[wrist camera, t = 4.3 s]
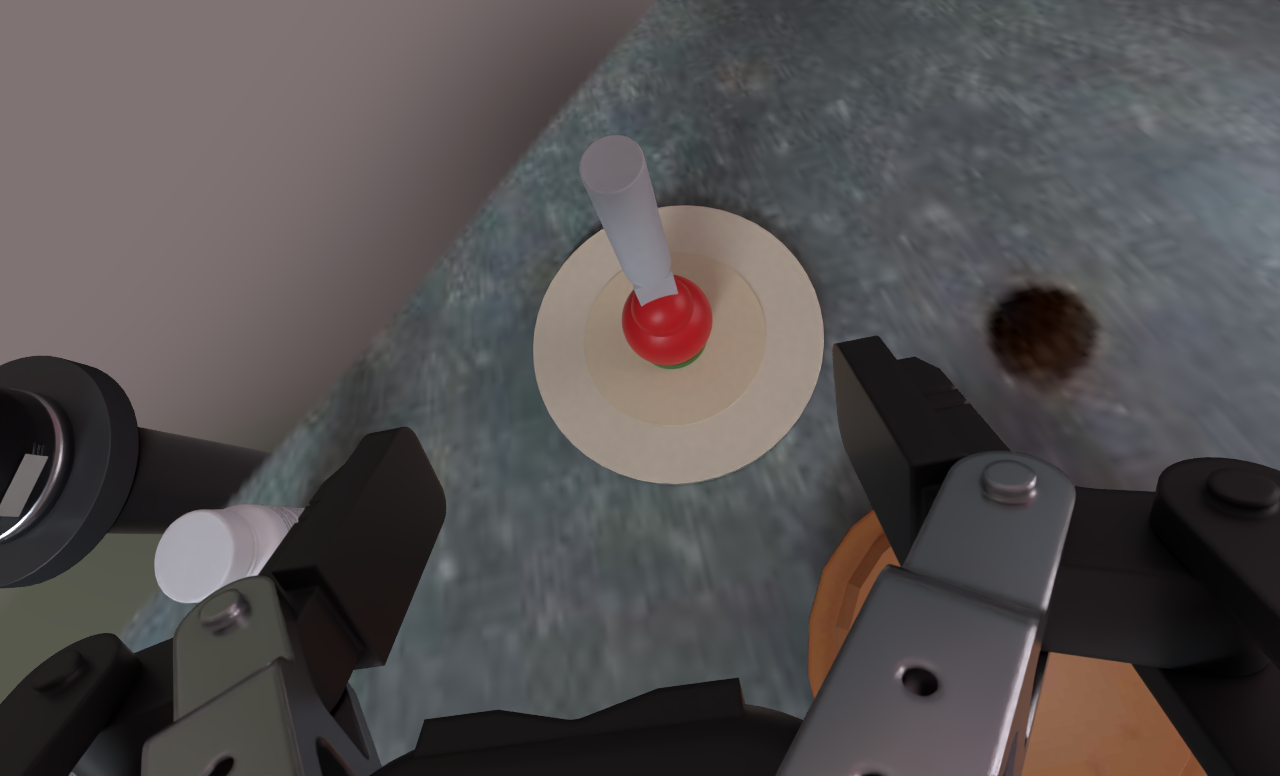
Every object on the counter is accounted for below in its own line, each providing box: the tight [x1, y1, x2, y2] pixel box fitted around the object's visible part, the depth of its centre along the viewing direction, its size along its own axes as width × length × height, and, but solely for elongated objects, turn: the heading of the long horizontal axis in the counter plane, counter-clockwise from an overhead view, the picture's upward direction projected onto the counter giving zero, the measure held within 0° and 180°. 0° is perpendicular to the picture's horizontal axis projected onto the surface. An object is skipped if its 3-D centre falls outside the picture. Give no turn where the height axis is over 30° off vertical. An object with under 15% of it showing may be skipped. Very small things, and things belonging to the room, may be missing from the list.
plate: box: [533, 205, 824, 485], centre depth 34 cm, size 16×16×1 cm
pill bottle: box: [154, 504, 305, 603], centre depth 31 cm, size 5×5×8 cm
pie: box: [808, 509, 1208, 776], centre depth 26 cm, size 15×16×5 cm
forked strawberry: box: [579, 135, 712, 369], centre depth 26 cm, size 5×5×16 cm
